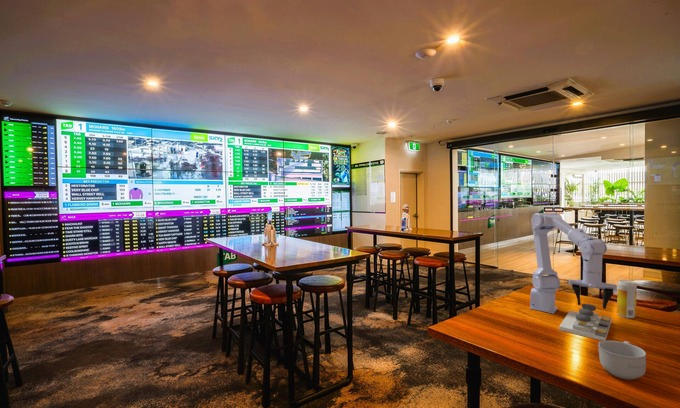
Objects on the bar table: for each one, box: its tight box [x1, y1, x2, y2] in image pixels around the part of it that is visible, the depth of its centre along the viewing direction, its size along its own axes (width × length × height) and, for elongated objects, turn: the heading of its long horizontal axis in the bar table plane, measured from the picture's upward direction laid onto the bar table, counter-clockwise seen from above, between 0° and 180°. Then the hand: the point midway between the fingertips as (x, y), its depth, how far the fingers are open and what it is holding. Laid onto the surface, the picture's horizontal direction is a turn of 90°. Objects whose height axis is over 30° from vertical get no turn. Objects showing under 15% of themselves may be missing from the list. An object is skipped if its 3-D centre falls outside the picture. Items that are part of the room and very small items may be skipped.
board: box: [558, 310, 612, 342], centre depth 130 cm, size 14×22×3 cm, turn 136°
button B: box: [578, 308, 594, 316], centre depth 130 cm, size 5×5×3 cm
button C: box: [581, 303, 597, 312], centre depth 135 cm, size 5×5×3 cm
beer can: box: [616, 279, 638, 319], centre depth 139 cm, size 6×6×15 cm
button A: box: [576, 314, 591, 325], centre depth 125 cm, size 5×5×3 cm
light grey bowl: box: [597, 340, 647, 381], centre depth 98 cm, size 14×11×8 cm
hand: (591, 306), depth 125 cm, fingers open, 7 cm apart
